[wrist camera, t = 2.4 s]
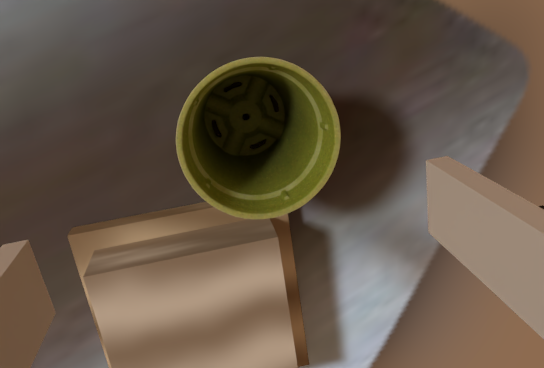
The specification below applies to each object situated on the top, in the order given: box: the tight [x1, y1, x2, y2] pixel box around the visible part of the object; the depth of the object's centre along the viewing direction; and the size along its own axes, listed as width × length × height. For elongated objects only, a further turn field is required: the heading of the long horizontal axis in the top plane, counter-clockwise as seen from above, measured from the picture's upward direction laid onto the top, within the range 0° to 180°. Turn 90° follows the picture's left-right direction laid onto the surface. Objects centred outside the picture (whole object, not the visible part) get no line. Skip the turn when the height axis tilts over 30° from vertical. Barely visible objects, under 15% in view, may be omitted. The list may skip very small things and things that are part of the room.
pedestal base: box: [68, 202, 309, 368], centre depth 36 cm, size 16×16×6 cm
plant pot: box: [176, 57, 341, 220], centre depth 31 cm, size 9×9×9 cm
